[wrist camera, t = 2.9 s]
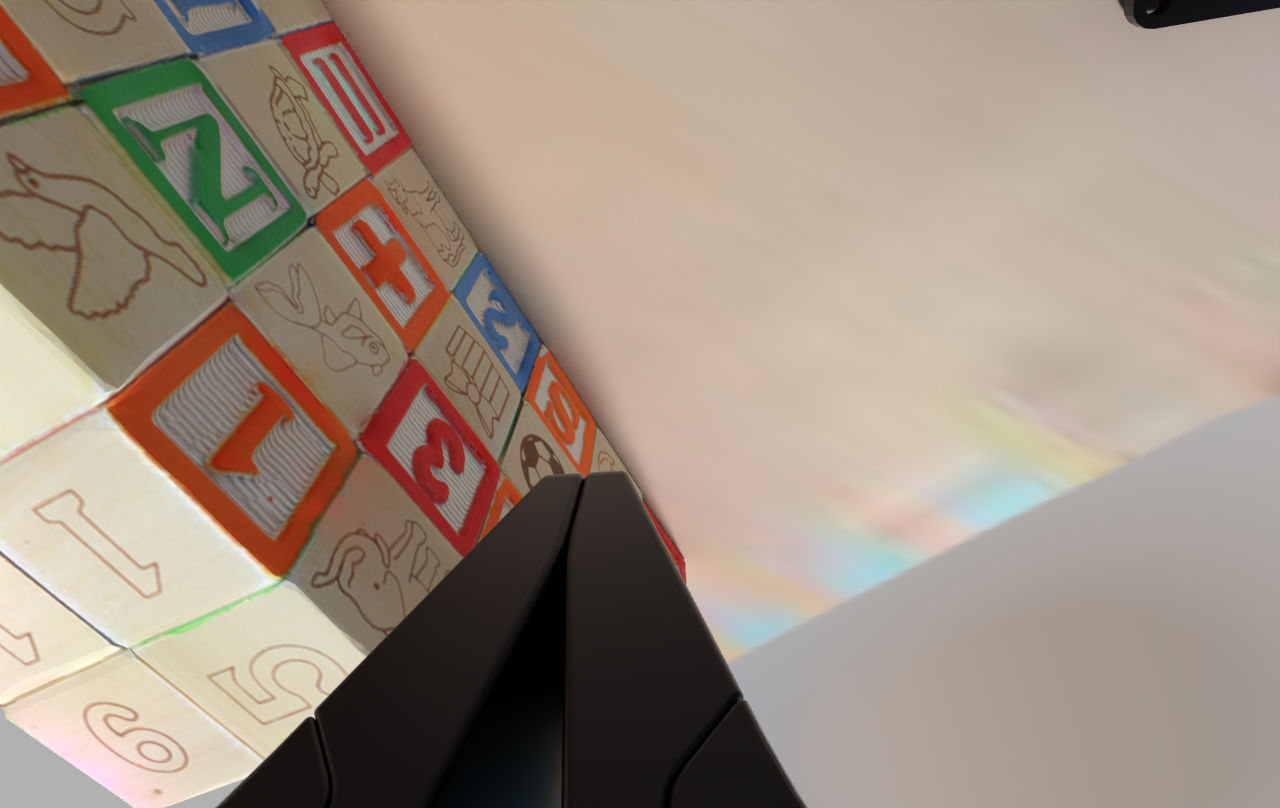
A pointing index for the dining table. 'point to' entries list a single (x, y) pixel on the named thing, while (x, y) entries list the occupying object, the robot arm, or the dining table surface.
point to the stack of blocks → (233, 383)
